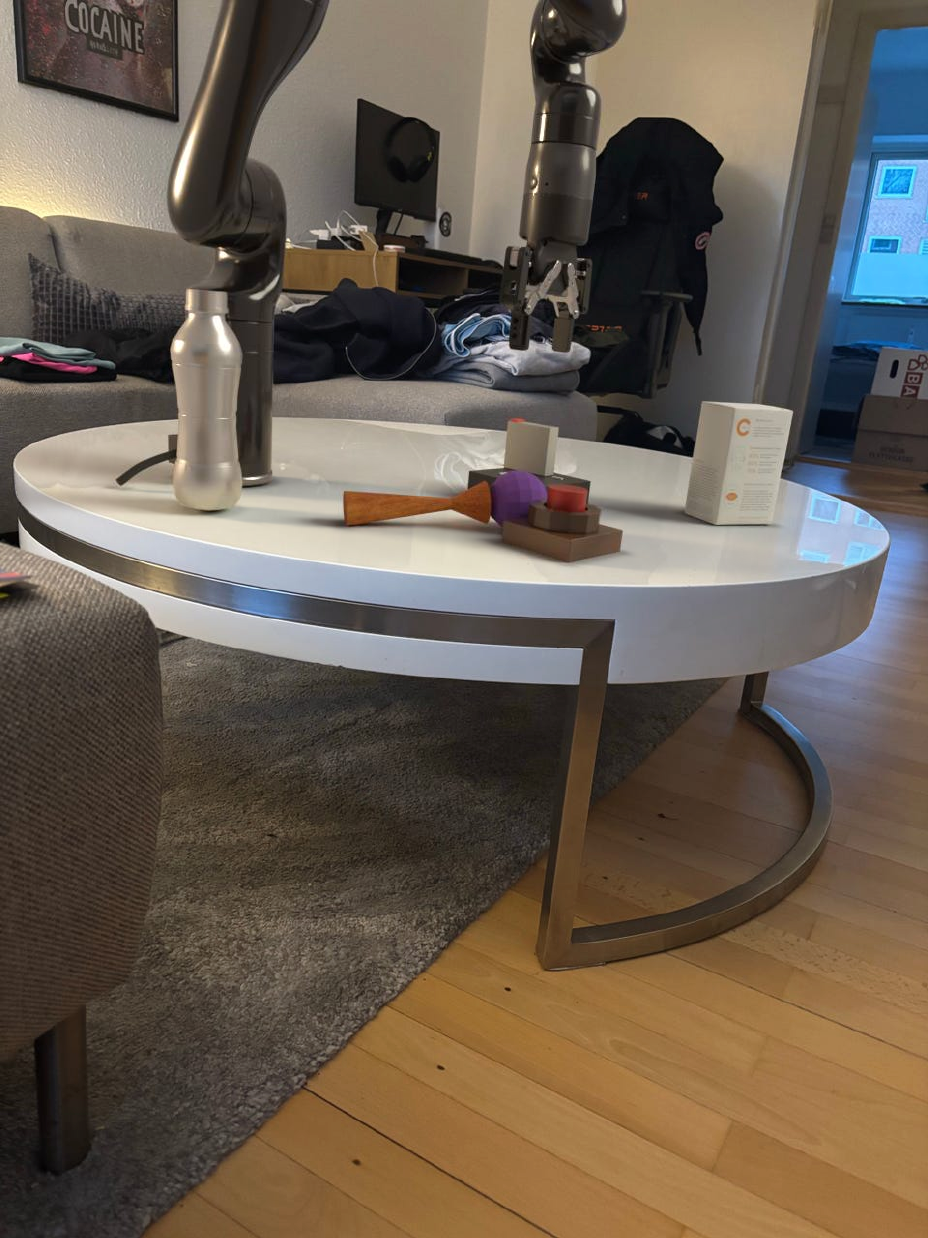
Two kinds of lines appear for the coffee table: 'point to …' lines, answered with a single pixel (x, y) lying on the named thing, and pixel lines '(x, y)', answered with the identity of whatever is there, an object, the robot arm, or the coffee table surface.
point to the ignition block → (562, 533)
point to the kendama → (451, 501)
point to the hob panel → (493, 474)
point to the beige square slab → (530, 447)
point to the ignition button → (566, 498)
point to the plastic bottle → (206, 405)
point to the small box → (737, 463)
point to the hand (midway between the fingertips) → (540, 351)
